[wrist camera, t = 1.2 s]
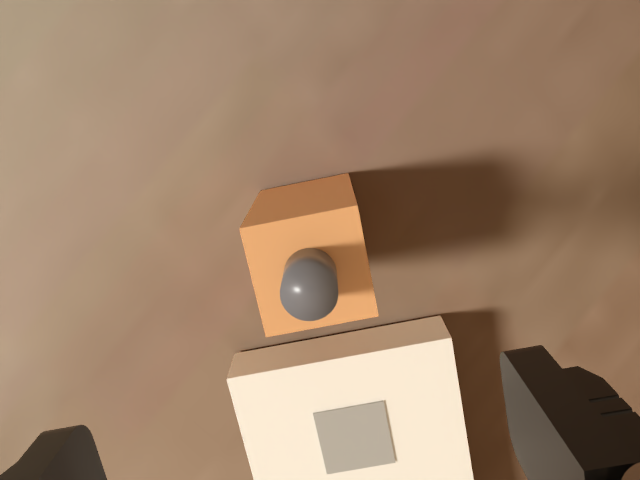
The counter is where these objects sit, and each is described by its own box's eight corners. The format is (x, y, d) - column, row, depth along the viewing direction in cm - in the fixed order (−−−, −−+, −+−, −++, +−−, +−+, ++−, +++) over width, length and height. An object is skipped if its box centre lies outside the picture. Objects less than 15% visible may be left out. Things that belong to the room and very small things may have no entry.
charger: (260, 190, 26) (230, 244, 18) (348, 172, 26) (361, 219, 17) (279, 273, 27) (260, 363, 19) (364, 257, 27) (384, 340, 18)
